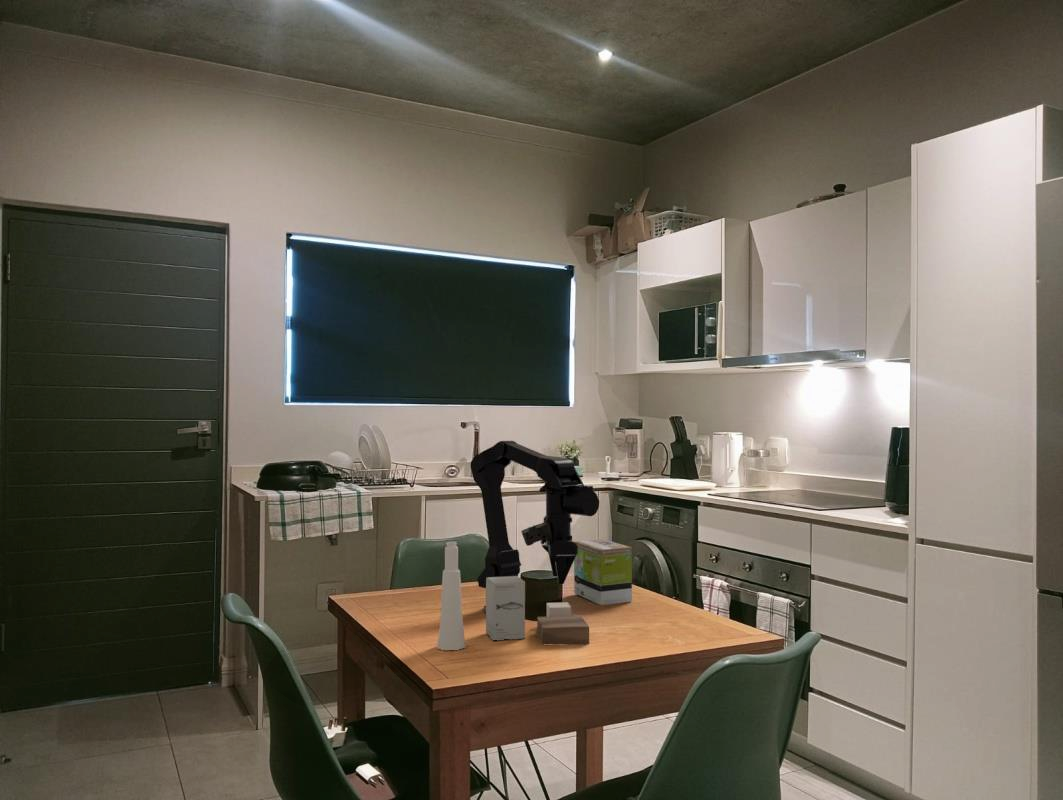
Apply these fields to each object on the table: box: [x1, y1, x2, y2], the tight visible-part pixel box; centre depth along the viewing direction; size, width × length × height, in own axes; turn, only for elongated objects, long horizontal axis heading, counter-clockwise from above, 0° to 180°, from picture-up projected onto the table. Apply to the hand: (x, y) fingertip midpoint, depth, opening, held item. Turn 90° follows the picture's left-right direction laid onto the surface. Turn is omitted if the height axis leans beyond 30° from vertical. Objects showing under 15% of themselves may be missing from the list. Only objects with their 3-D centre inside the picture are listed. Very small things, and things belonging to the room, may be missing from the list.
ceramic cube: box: [546, 601, 572, 617], centre depth 190 cm, size 5×5×5 cm
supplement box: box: [485, 575, 526, 641], centre depth 181 cm, size 7×7×13 cm
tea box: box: [573, 538, 633, 606], centre depth 220 cm, size 15×10×15 cm, turn 25°
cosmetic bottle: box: [436, 541, 466, 651], centre depth 173 cm, size 6×6×22 cm
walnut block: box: [536, 615, 590, 645], centre depth 180 cm, size 10×10×4 cm
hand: (558, 580), depth 190 cm, fingers open, 9 cm apart
